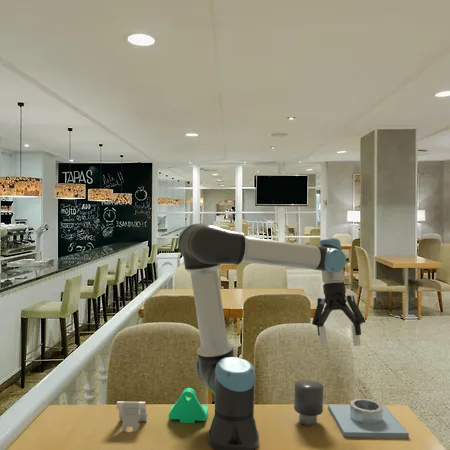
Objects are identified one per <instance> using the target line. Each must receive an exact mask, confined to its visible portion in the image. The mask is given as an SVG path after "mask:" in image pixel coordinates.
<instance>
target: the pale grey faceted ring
mask: <svg viewBox="0 0 450 450" xmlns="http://www.w3.org/2000/svg"><path fill="white" fill-rule="evenodd" d="M349 405H350V418H351V419H353V420H354V421H355V422H358V423H361V424H365V425H377V424H380V423H381V422H382V416H383V407H382V404H381V403H380V402H378V401H375V400H372V399H369V398H354V399H352V400H351V401H350V404H349Z"/></svg>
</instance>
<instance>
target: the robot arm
mask: <svg viewBox="0 0 450 450" xmlns="http://www.w3.org/2000/svg"><path fill="white" fill-rule="evenodd" d="M177 238H178V239H177V249H178V250H179V252H180V255H182V257H183V263H184V269H185V270H186V271H187V272H188V273H190V279H191V285H192V286H191V287H192V291H193V300H194V306H195V307H194V308H195V313H196V320H197V326H198V332H199V333H198V334H199V339H200V346H199V347H198V349H197V351H196V352H197V358H196V359H197V360H196V362H195V363H196V364H195V370H196V373H197V376H198V378H199V379H200V381H201V382H202V383H203V384H204V385H205V386H206V387H207V388H208V389H209V390H210V392H211V393H213V395H214V415H213V417H212V421H211V424H210V428H209V430H208V433H207V436H208V437H207V442H208V445H209V446H210V447H211V448H212V449H214V450H255V449H256V448H258V446H259V443H260V433H259V430H258V429H257V424H256V420H255V414H254V413H255V411H254V410H255V391H256V390H255V387H256V373H255V371H256V370H255V367H254V365H253V364H252V363H251V362H250V361H248V360H246V359H245V358H244V359H242V358H240V357H236V356H235V353H234V346H233V344H232V343H231V342H229V341H228V337H227V336H228V335H227V330H226V323H225V321H226V320H225V315H224V308H223V301H222V300H223V299H222V292H221V287H220V285H221V284H220V278H219V272H218V270H219V268H220V266H221V265H236V266H240V265H241V264H242V263H249V264H258V265H267V266H277V267H278V266H280V267H287V268H288V267H289V268H296V269H297V268H298V269H306V270H308V269H309V270H315V271H321V277H322V278H321V280H322V283H323V285H322V287H323V288H322V289H323V294H324V298H323V297H318V298H317V305H316V307H315V312H314V314H313V320H312V326H316V328H317V335H318V336H319V343H320V344H319V345H320V347H322V346H327V345H328V342H327V332H326V329H327V328H326V326H325V325H324V324H325V323H326V321H327V319H328V318H329V316H330V314H331V312H332V311H338V310H339V311H341V312H343V313H344V314H345V315H346V317H347V318H348V319H349V320H350V322H351V323H352V325H351V330H352V331H351V332H352V340H353V341H352V342H353V347H359V346H361V337H360V336H361V335H362V328H361V325H362V324H364V323H365V322H366V318H365V317H364V316H363V313H362V312H361V310H360V308H359V306H358V305H357V303H356V300H355V296H354V294H351V295H350V294H349V295H346V292H347V291H346V290H347V289H346V283H345V282H344V281H345V271H344V269H345V267H346V264H347V257H346V255H345V253H344V252H343V250H342V244H341V241H340V239H338V238H330V237H329V238H322V239H320V240H319V241H318V244H309V243H307V244H304V243H296V242H289V241H280V240H274V239H273V240H272V239H266V238H258V237H251V236H246V235H245V234H244V233H243V232H240V231H239V232H238V231H234V230H229V229H226V228H222V227H219V226H216V225H212V224H205V223H192V224H188V225H187V226H185V227H184V228H183V229H182V230H181V232H180V234H179V235H178V237H177ZM347 303H348V304H347Z"/></svg>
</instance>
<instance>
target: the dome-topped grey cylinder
mask: <svg viewBox="0 0 450 450" xmlns="http://www.w3.org/2000/svg"><path fill="white" fill-rule="evenodd" d="M293 399H294V400H293V401H294V404H293V406H294V407H293V410H294V411H295V412H296V413H298V415H299V416H298V417H299V418H298V419H299V421H298V422H299V423H300V424H301V425H304V426H315V425H317V421H318V420H317V419H318V416H320V415H321V414H323V411H324V385H323V384H322V383H321V382H319V381H315V380H308V379H307V380H305V379H303V380H297V381H296V382H295V383H294V398H293Z"/></svg>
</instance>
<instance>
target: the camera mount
mask: <svg viewBox="0 0 450 450" xmlns="http://www.w3.org/2000/svg"><path fill="white" fill-rule="evenodd" d="M208 413H209V406H208V405H202V404H201V403H200V401H199V399H198V397H197V394H196V391H195V389H193V388H192V387H187V388H185V389H183V391H182V393H181V394H180V396H179V398H178V399H177V400H176V402H175V403H174V404H172V405H171V408H170V411H169V413H168V419H170V420H179V422H180V423H184V424H185V423H187V424H195V423H196V421H201V422H202V421H203V422H204V421H205V422H206V421H207V417H208Z"/></svg>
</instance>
